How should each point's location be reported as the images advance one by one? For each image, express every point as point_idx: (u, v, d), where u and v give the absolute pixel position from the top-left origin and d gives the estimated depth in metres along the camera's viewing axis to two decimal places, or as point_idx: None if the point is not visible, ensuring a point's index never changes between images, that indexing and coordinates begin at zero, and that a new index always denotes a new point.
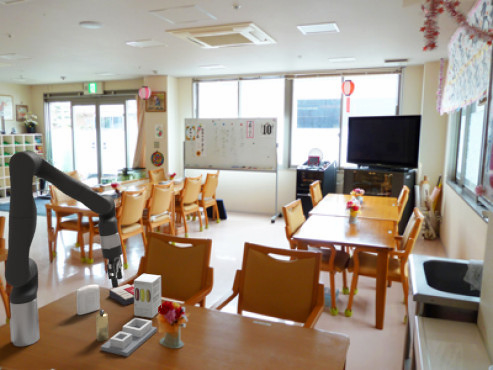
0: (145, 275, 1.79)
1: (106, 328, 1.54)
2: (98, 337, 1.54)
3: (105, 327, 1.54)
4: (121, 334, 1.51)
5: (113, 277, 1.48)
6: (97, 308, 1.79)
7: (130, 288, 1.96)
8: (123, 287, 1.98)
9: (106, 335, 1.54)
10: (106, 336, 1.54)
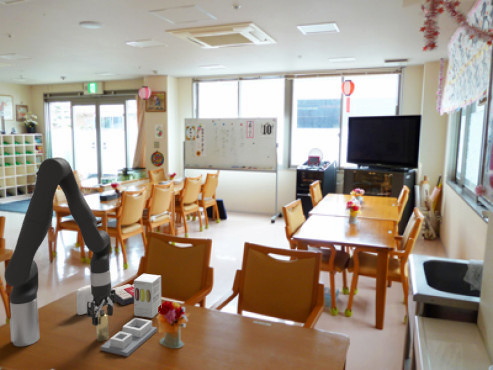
0: (145, 275, 1.79)
1: (106, 328, 1.54)
2: (98, 337, 1.54)
3: (105, 327, 1.54)
4: (121, 334, 1.51)
5: (91, 316, 1.47)
6: None
7: (130, 288, 1.96)
8: (123, 287, 1.98)
9: (106, 335, 1.54)
10: (106, 336, 1.54)
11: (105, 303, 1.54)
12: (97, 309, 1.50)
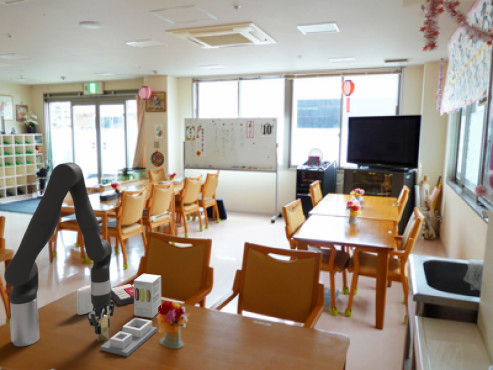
0: (145, 275, 1.79)
1: (106, 328, 1.54)
2: (98, 337, 1.54)
3: (105, 327, 1.54)
4: (121, 334, 1.51)
5: (94, 325, 1.49)
6: None
7: (130, 288, 1.96)
8: (123, 287, 1.98)
9: (106, 335, 1.54)
10: (106, 336, 1.54)
11: (103, 312, 1.54)
12: (98, 319, 1.51)
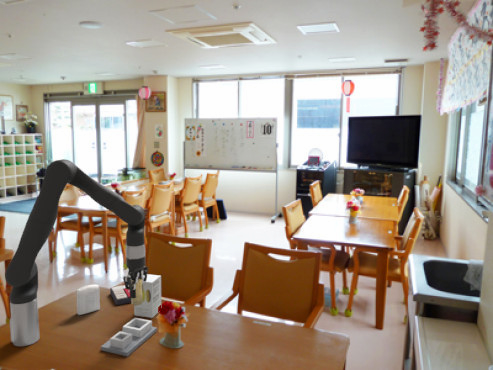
0: None
1: (141, 292, 1.56)
2: (133, 301, 1.56)
3: (140, 291, 1.56)
4: (121, 334, 1.51)
5: (129, 288, 1.51)
6: (97, 308, 1.79)
7: None
8: (124, 286, 1.98)
9: (140, 299, 1.56)
10: (140, 300, 1.56)
11: None
12: (134, 282, 1.53)
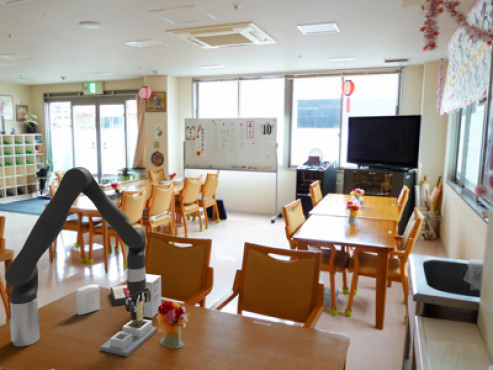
0: None
1: (141, 314, 1.57)
2: (134, 323, 1.57)
3: (140, 313, 1.57)
4: (121, 334, 1.51)
5: (130, 311, 1.53)
6: (97, 308, 1.79)
7: None
8: (124, 286, 1.99)
9: (141, 321, 1.58)
10: (141, 322, 1.58)
11: None
12: (134, 305, 1.55)
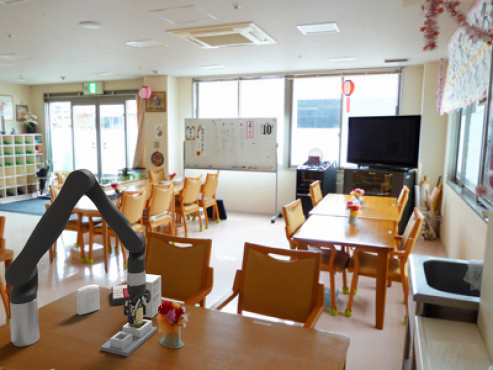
0: None
1: (141, 320, 1.58)
2: None
3: (140, 319, 1.57)
4: (121, 334, 1.51)
5: (127, 315, 1.51)
6: (97, 308, 1.79)
7: None
8: (125, 286, 1.99)
9: None
10: None
11: (140, 302, 1.58)
12: (133, 308, 1.54)
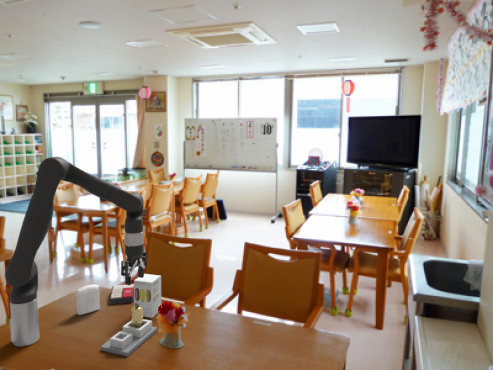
0: (145, 275, 1.79)
1: (141, 320, 1.58)
2: None
3: (140, 319, 1.57)
4: (121, 334, 1.51)
5: (125, 275, 1.50)
6: (97, 308, 1.79)
7: (128, 288, 1.96)
8: (125, 286, 1.99)
9: None
10: None
11: (137, 264, 1.56)
12: (130, 269, 1.52)
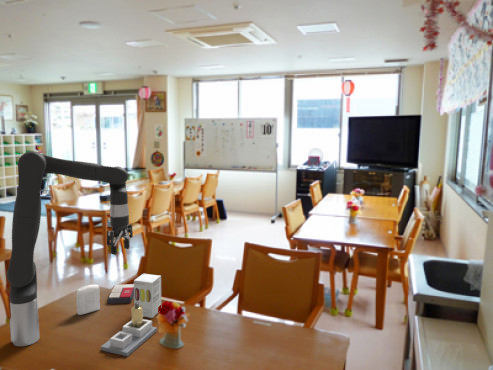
0: (145, 275, 1.79)
1: (141, 320, 1.58)
2: None
3: (140, 319, 1.57)
4: (121, 334, 1.51)
5: (110, 244, 1.57)
6: (97, 308, 1.79)
7: (128, 288, 1.96)
8: (126, 286, 1.99)
9: None
10: None
11: (123, 235, 1.64)
12: (116, 239, 1.60)
